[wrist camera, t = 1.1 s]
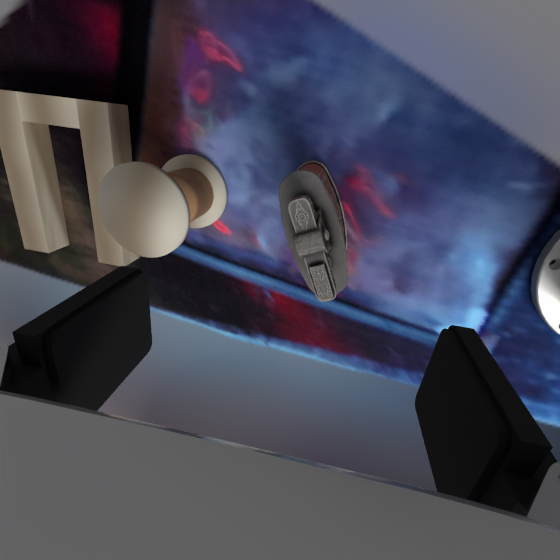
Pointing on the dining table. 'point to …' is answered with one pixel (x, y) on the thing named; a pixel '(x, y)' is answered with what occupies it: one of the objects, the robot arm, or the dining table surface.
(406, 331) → the dining table surface
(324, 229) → the lighter
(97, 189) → the notched board
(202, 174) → the bobbin
